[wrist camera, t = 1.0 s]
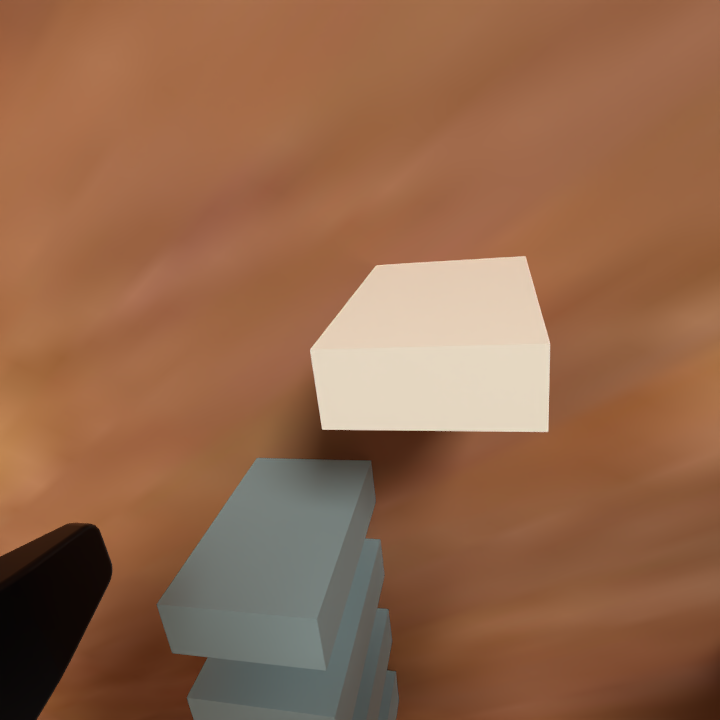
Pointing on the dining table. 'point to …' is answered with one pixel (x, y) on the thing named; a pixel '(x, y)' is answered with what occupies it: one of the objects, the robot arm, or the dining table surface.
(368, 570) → the domino
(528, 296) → the domino
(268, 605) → the domino
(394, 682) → the domino
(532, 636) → the dining table surface
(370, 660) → the domino
